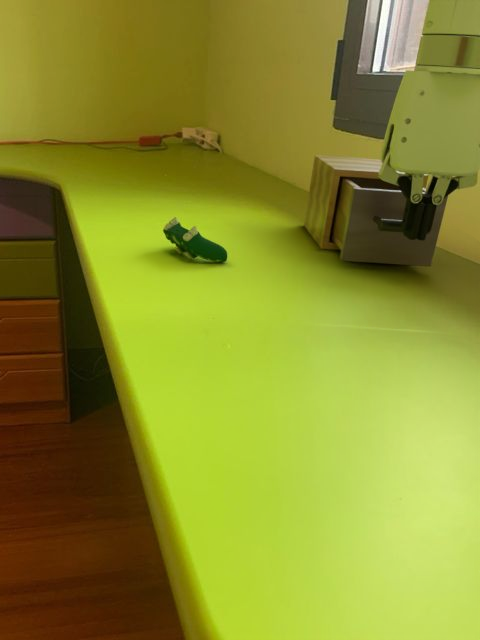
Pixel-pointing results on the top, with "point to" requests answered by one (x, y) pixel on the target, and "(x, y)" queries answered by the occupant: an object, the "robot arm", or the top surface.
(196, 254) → the green shoe
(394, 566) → the top surface
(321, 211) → the cabinet
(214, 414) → the top surface
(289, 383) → the top surface
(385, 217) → the drawer
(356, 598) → the top surface
